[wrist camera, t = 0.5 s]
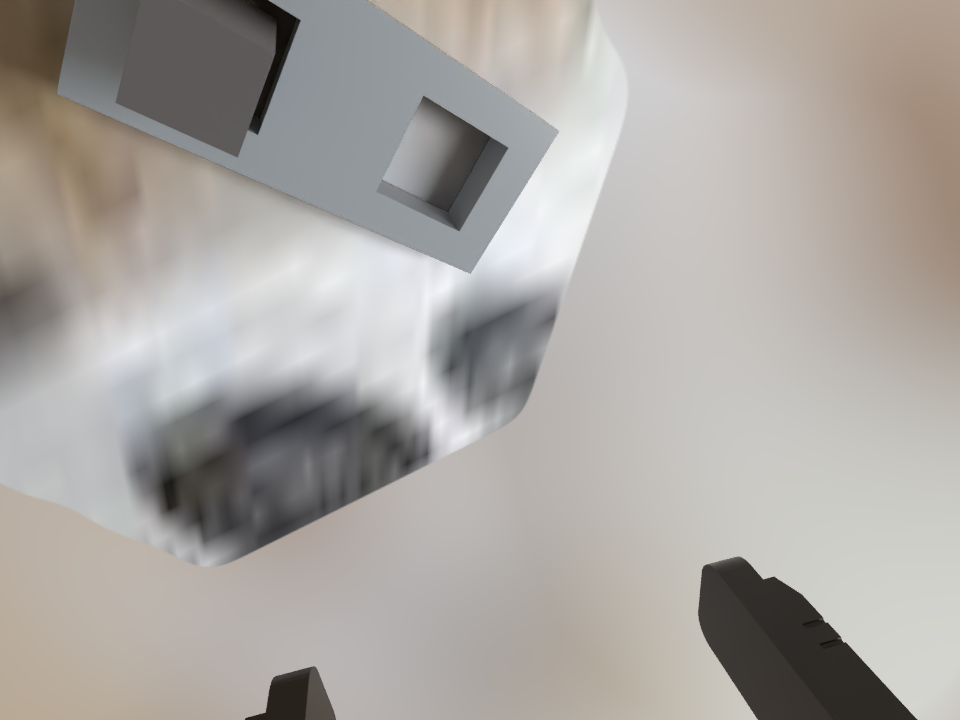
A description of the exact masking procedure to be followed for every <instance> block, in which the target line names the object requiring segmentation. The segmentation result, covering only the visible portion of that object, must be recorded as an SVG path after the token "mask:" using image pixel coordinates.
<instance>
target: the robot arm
mask: <svg viewBox="0 0 960 720" xmlns="http://www.w3.org/2000/svg"><path fill="white" fill-rule="evenodd" d="M698 616H699V622H700V626H701V629H702V632H703V634H704V637H705V639H706V641H707V642H708V644H709V646H710V647H711V649H712V651H713V652H714V654H715V655H716V657H717V658H718V660H719V661H720V662H721V664H722V666H723V667H724V668H725V670H726V672H727V673H728V675H729V676H730V678H731V679H732V681H733V682H734V684H735V685H736V687H737V688H738V690H739V691H740V693H741V695H742V696H743V697H744V699H745V701H746V702H747V704H748V705H749V707H750V708H751V710H752V711H753V713H754V714H755V716H756V717H757V719H758V720H917V719H916V718H915V717H914V716H913V715H912V714H911V713H910V712H909V710H908V709H907V708H906V707H905V706H904V705H903V704H902V703H901V702H900V701H899V700H898V699H897V698H896V696H895V695H894V694H893V693H892V692H891V691H890V690H889V689H888V688H887V687H886V685H885V684H884V683H882V681H881V680H880V679H879V678H878V677H877V676H876V675H875V674H874V672H873V671H872V670H871V669H870V668H869V667H868V666H867V665H866V664H865V663H864V662H863V661H862V659H861V658H860V657H859V656H858V655H857V654H856V653H855V652H854V651H853V650H852V649H851V647H850V646H849V645H848V644H847V643H846V642H845V643H844V642H843V641H842V639H841V637H840V636H839V634H838V633H837V632H836V631H835V630H834V629H833V628H832V627H831V626H830V625H829V624H828V623H825V622H824V620H823V617H822V616H821V615H820V614H819V613H818V612H817V611H816V609H815V608H814V607H813V606H812V605H811V604H810V603H809V602H808V601H807V600H806V599H805V598H804V597H803V595H801V594H800V593H799V592H797V591H795V590H794V589H792V588H791V587H789V586H788V585H786V584H785V583H783V582H781V581H780V580H778V579H777V578H775V577H771V578H767V579H764V580H763V579H762V578H761V576H760V575H759V574H758V573H757V572H756V571H755V570H754V568H753V567H752V566H751V565H750V564H749V563H748V562H747V561H746V560H745V559H743V558H741V557H734V558H730V559H726V560H722V561H719V562H715V563H711V564H707V565H705V566H704V567H703V569H702V577H701V588H700V600H699V610H698ZM245 720H336V718H335V714H334V711H333V708H332V706H331V703H330V700H329V698H328V696H327V693H326V690H325V688H324V686H323V683H322V680H321V678H320V675H319V673H318V670H317V668H316V667H310V668H306V669H302V670H298V671H294V672H291V673H286V674H283V675H279V676H276V677H274V678H273V680H272V682H271V685H270V690H269V696H268V702H267V708H266V713H263V714H259V715H256V716H252V717H248V718H246V719H245Z"/></svg>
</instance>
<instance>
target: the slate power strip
mask: <svg viewBox="0 0 960 720" xmlns="http://www.w3.org/2000/svg"><path fill="white" fill-rule="evenodd" d="M269 1H270V2H272V3H273V4H275V5H277V6H278V7H280V8H282V9H283V10H285V11H287V12H288V13H290V14H291V15H293V16H295V17H296V18H297V20H296V23H295V25H294V28H293V31H292V34H291V36H290V39H289V42H288V44H287V47H286V50H285V53H284V55H283V58H282V61H281V63H280V66H279V69H278V72H277V74H276V77H275V80H274V82H273V85H272V88H271V91H270V93H269V96H268V99H267V101H266V104H265V107H264V110H263V112H262V115H261V118H260V119H258V118H256V117H254V116H253V114H254V112H255V109H256V106H257V103H258V100H259V98H260V95H261V92H262V89H263V87H264V84H265V81H266V78H267V76H268V73H269V70H270V67H271V65H272V62H273V59H274V56H275V49H276V29H277V19H275V18H274V17H272V16H270V15H269V14H267V13H265V12H264V11H262V10H260V9H259V8H257V7H255V6H254V5H252V4H250V3H249V2H247V1H245V0H75V1H74V6H73V11H72V17H71V22H70V27H69V32H68V37H67V42H66V47H65V52H64V57H63V62H62V68H61V73H60V78H59V83H58V88H57V93H56V94H58V95H60V96H63V97H65V98H67V99H70V100H72V101H74V102H76V103H79V104H81V105H83V106H86V107H88V108H90V109H93V110H95V111H97V112H99V113H102V114H104V115H106V116H109V117H111V118H113V119H116V120H118V121H120V122H122V123H125V124H127V125H129V126H132V127H134V128H136V129H139V130H141V131H143V132H145V133H148V134H150V135H152V136H155V137H157V138H159V139H162V140H164V141H166V142H168V143H171V144H173V145H175V146H178V147H180V148H182V149H185V150H187V151H189V152H191V153H194V154H196V155H198V156H201V157H203V158H205V159H208V160H210V161H212V162H214V163H217V164H219V165H221V166H224V167H226V168H228V169H231V170H233V171H235V172H238V173H240V174H242V175H244V176H247V177H249V178H251V179H254V180H256V181H258V182H261V183H263V184H265V185H267V186H270V187H272V188H274V189H277V190H279V191H281V192H284V193H286V194H288V195H290V196H293V197H295V198H297V199H300V200H302V201H304V202H307V203H309V204H311V205H313V206H316V207H318V208H320V209H323V210H325V211H327V212H330V213H332V214H334V215H336V216H339V217H341V218H343V219H346V220H348V221H350V222H353V223H355V224H357V225H359V226H362V227H364V228H366V229H369V230H371V231H373V232H376V233H378V234H380V235H382V236H385V237H387V238H389V239H392V240H394V241H396V242H399V243H401V244H403V245H405V246H408V247H410V248H412V249H415V250H417V251H419V252H422V253H424V254H426V255H429V256H431V257H433V258H435V259H438V260H440V261H442V262H445V263H447V264H449V265H452V266H454V267H456V268H458V269H461V270H463V271H465V272H468V273H470V274H471V272H472V271H473V269H474V267H475V266H476V264H477V262H478V261H479V259H480V258H481V256H482V254H483V253H484V251H485V250H486V248H487V246H488V245H489V243H490V242H491V240H492V238H493V237H494V235H495V234H496V232H497V230H498V229H499V227H500V226H501V224H502V222H503V221H504V219H505V217H506V216H507V214H508V213H509V211H510V209H511V208H512V206H513V205H514V203H515V201H516V200H517V198H518V197H519V195H520V193H521V192H522V190H523V189H524V187H525V185H526V184H527V182H528V181H529V179H530V177H531V176H532V174H533V172H534V171H535V169H536V168H537V166H538V164H539V163H540V161H541V160H542V158H543V156H544V155H545V153H546V152H547V150H548V148H549V147H550V145H551V144H552V142H553V140H554V139H555V137H556V136H557V134H558V132H559V131H558V130H557V129H556V128H554V127H553V126H551V125H550V124H549V123H547V122H546V121H544V120H543V119H541V118H540V117H539V116H537V115H536V114H534V113H533V112H531V111H530V110H528V109H527V108H525V107H524V106H522V105H521V104H519V103H518V102H517V101H515V100H514V99H512V98H511V97H509V96H508V95H506V94H505V93H503V92H502V91H500V90H499V89H497V88H496V87H494V86H493V85H491V84H490V83H489V82H487V81H486V80H484V79H483V78H481V77H480V76H478V75H477V74H475V73H474V72H472V71H471V70H469V69H468V68H466V67H465V66H464V65H462V64H461V63H459V62H458V61H456V60H455V59H453V58H452V57H450V56H449V55H447V54H446V53H444V52H443V51H441V50H440V49H438V48H437V47H436V46H434V45H433V44H431V43H430V42H428V41H427V40H425V39H424V38H422V37H421V36H419V35H418V34H416V33H415V32H413V31H412V30H410V29H409V28H408V27H406V26H405V25H403V24H402V23H400V22H399V21H397V20H396V19H394V18H393V17H391V16H390V15H388V14H387V13H385V12H384V11H383V10H381V9H380V8H378V7H377V6H375V5H374V4H372V3H371V2H369V1H368V0H269ZM423 96H425V97H427V98H428V99H430V100H431V101H433V102H435V103H436V104H438V105H440V106H441V107H443V108H445V109H446V110H448V111H449V112H451V113H453V114H454V115H456V116H458V117H459V118H461V119H462V120H464V121H466V122H467V123H469V124H471V125H472V126H474V127H475V128H477V129H479V130H480V131H482V132H484V133H485V134H487V135H488V136H490V139H489V141H488V142H487V144H486V146H485V148H484V150H483V151H482V153H481V155H480V157H479V158H478V160H477V162H476V164H475V165H474V167H473V169H472V171H471V172H470V174H469V176H468V178H467V179H466V181H465V183H464V185H463V187H462V188H461V190H460V192H459V194H458V195H457V197H456V199H455V201H454V202H453V204H452V206H451V208H450V209H449V211H448V212H446V211H444V210H442V209H440V208H438V207H436V206H434V205H432V204H430V203H428V202H426V201H424V200H422V199H420V198H418V197H416V196H414V195H412V194H410V193H408V192H406V191H404V190H402V189H400V188H398V187H396V186H394V185H392V184H390V183H388V182H386V181H384V180H382V179H383V177H384V175H385V173H386V171H387V169H388V167H389V164H390V162H391V160H392V158H393V156H394V154H395V152H396V150H397V148H398V146H399V144H400V142H401V140H402V138H403V136H404V134H405V132H406V130H407V128H408V126H409V124H410V122H411V120H412V118H413V116H414V114H415V112H416V110H417V108H418V106H419V104H420V102H421V100H422V98H423Z"/></svg>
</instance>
